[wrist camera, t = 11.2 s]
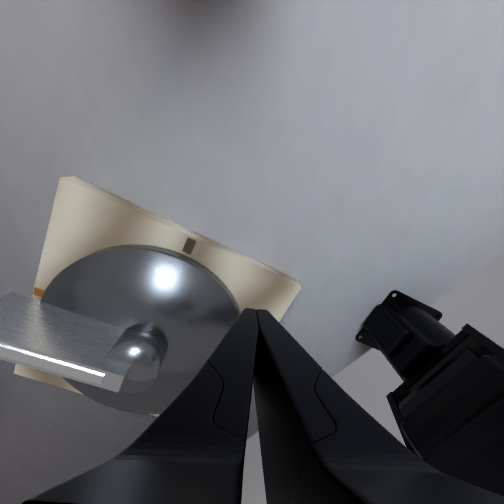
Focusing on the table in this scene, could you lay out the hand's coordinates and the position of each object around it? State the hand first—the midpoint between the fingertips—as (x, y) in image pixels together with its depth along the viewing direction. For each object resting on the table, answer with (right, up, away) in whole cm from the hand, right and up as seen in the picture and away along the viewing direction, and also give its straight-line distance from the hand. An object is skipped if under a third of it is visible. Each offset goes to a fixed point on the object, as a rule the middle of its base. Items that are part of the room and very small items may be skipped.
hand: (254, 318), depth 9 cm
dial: (-9, -5, +12) cm, 16 cm away
